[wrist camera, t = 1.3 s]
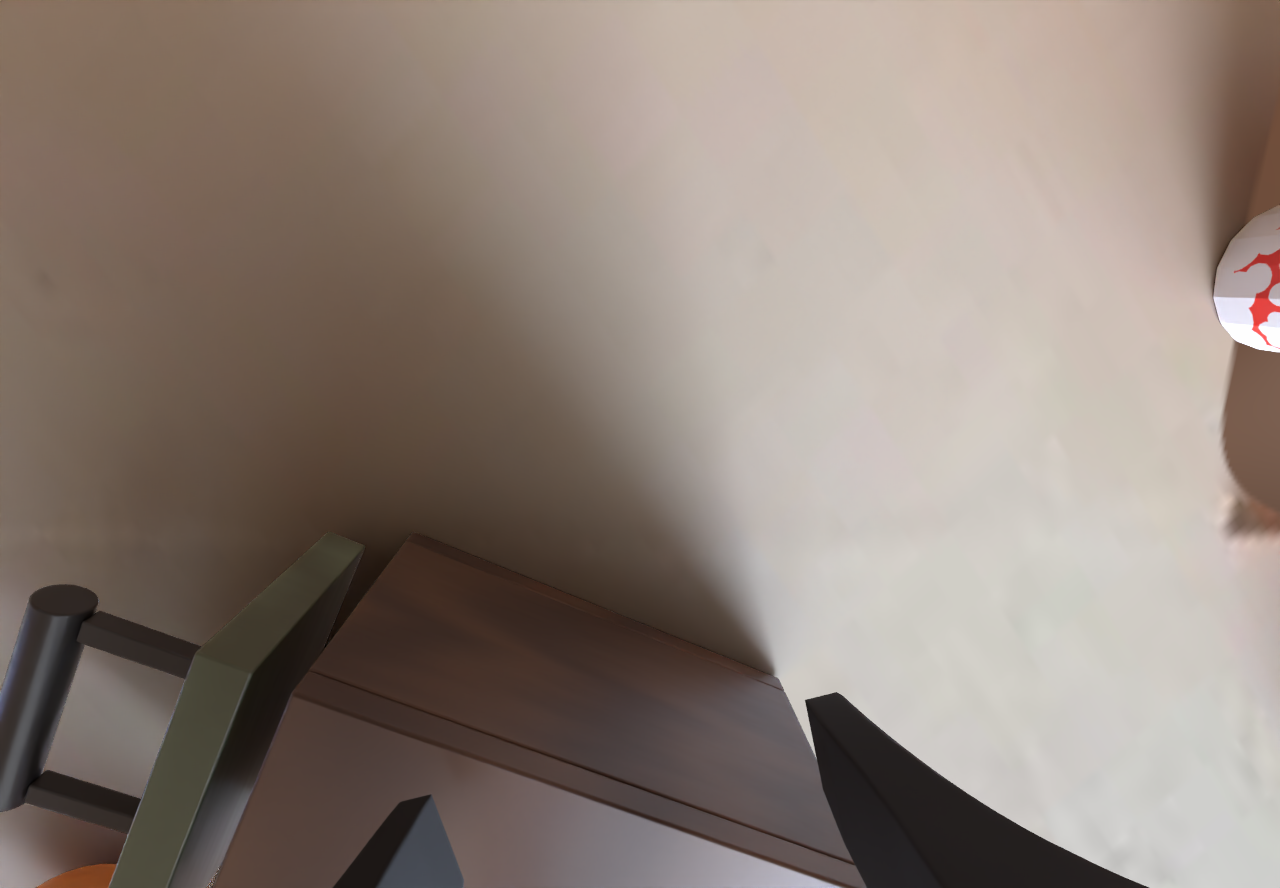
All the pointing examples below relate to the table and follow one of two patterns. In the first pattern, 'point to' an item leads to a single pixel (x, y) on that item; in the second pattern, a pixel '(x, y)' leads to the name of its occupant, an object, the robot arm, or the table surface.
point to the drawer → (200, 724)
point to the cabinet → (535, 747)
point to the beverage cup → (1252, 283)
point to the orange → (83, 877)
